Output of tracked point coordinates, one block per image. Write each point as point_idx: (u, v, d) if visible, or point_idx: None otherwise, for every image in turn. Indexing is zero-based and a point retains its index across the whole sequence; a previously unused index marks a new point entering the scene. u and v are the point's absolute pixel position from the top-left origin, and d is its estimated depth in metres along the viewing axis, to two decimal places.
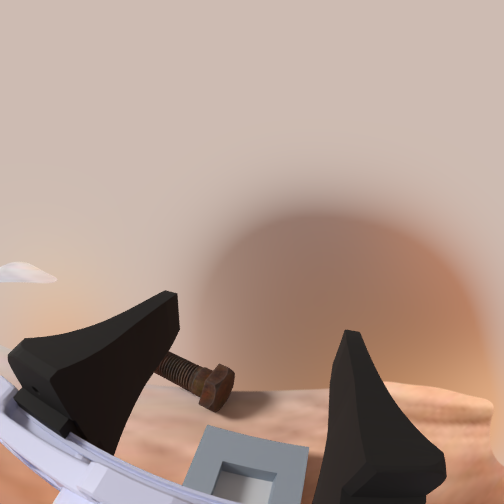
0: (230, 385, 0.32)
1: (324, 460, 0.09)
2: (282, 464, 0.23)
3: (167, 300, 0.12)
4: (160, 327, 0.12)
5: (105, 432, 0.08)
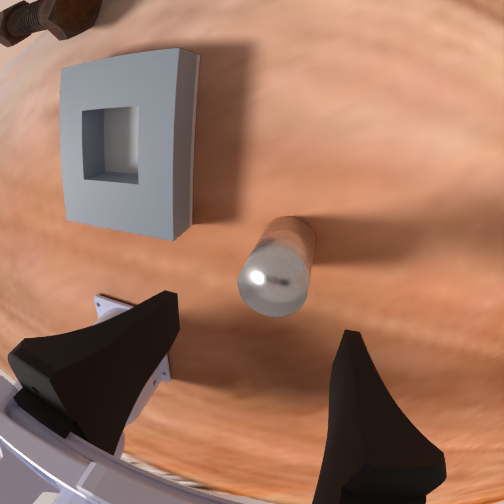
0: None
1: (324, 460, 0.09)
2: (143, 89, 0.16)
3: (167, 300, 0.12)
4: (160, 327, 0.12)
5: (105, 432, 0.08)
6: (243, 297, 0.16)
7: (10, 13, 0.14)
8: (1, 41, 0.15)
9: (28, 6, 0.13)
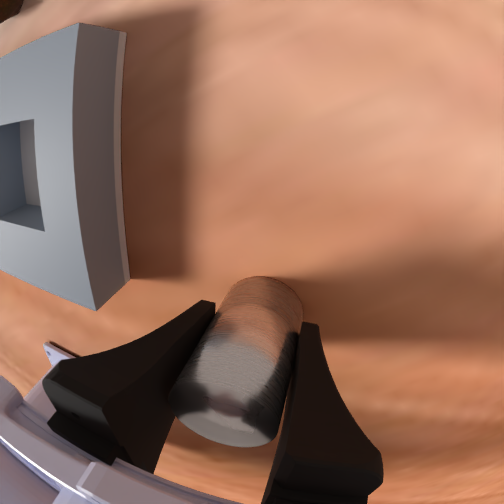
0: None
1: (276, 452, 0.09)
2: (38, 93, 0.09)
3: (207, 310, 0.12)
4: None
5: (148, 452, 0.08)
6: (181, 420, 0.09)
7: None
8: None
9: None
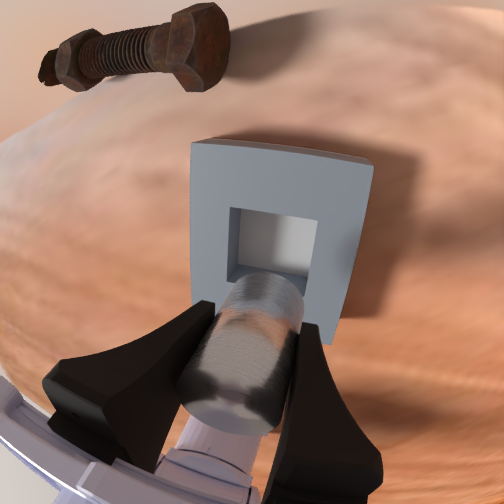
0: (219, 24, 0.14)
1: None
2: (325, 203, 0.16)
3: (207, 310, 0.12)
4: (200, 339, 0.11)
5: (148, 452, 0.08)
6: (191, 412, 0.10)
7: (80, 45, 0.15)
8: (69, 84, 0.16)
9: (116, 37, 0.14)
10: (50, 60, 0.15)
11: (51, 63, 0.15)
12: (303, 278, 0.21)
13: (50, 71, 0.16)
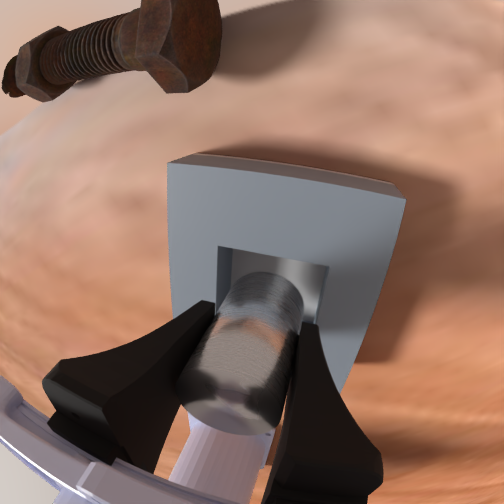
0: (205, 5, 0.10)
1: None
2: (341, 245, 0.12)
3: (207, 310, 0.12)
4: (200, 338, 0.11)
5: (148, 452, 0.08)
6: (190, 412, 0.10)
7: (41, 46, 0.11)
8: (32, 94, 0.13)
9: (80, 32, 0.10)
10: (12, 67, 0.12)
11: (13, 70, 0.12)
12: None
13: (13, 80, 0.12)
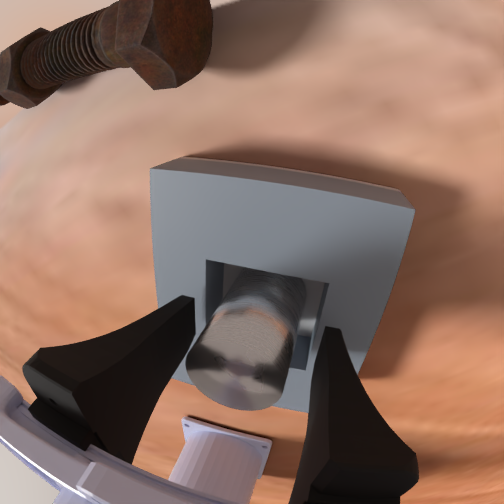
0: None
1: (302, 457, 0.09)
2: (342, 261, 0.11)
3: (185, 305, 0.12)
4: (178, 332, 0.12)
5: (124, 441, 0.08)
6: (198, 387, 0.11)
7: (22, 50, 0.10)
8: (15, 100, 0.12)
9: (60, 30, 0.09)
10: None
11: None
12: (305, 340, 0.16)
13: None
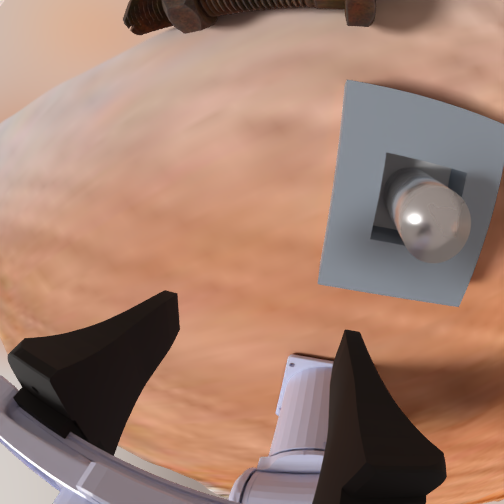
0: None
1: (324, 460, 0.09)
2: (474, 156, 0.13)
3: (167, 300, 0.12)
4: (160, 327, 0.12)
5: (105, 432, 0.08)
6: (406, 244, 0.13)
7: None
8: (180, 20, 0.14)
9: None
10: None
11: (149, 1, 0.13)
12: None
13: (147, 10, 0.13)
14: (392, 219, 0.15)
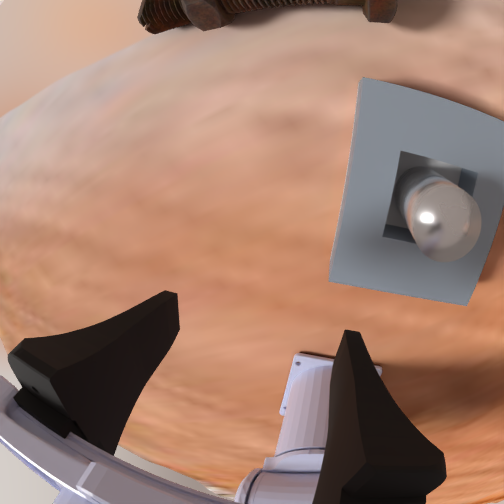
0: None
1: (324, 460, 0.09)
2: (485, 157, 0.13)
3: (167, 300, 0.12)
4: (160, 327, 0.12)
5: (105, 432, 0.08)
6: (419, 244, 0.13)
7: None
8: (199, 17, 0.13)
9: None
10: None
11: None
12: None
13: (163, 7, 0.13)
14: (404, 219, 0.15)
